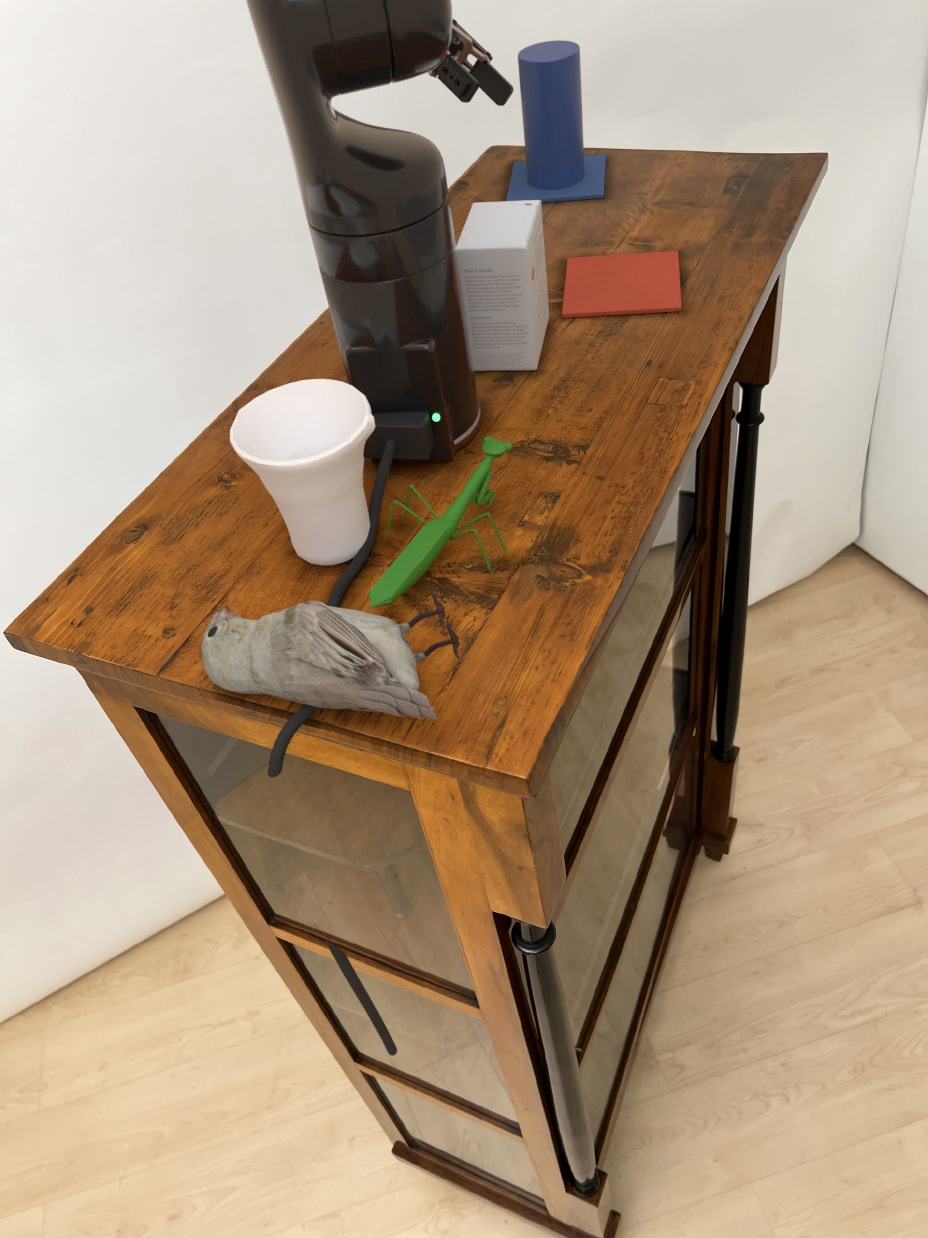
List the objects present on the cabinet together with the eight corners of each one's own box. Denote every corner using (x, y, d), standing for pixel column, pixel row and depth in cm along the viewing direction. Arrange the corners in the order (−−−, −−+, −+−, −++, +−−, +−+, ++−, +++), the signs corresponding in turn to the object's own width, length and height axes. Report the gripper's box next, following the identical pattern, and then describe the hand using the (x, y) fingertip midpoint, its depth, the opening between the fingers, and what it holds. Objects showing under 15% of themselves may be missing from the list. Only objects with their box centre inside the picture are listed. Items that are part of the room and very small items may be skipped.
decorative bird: (202, 578, 57) (154, 682, 53) (451, 573, 52) (421, 688, 47) (242, 631, 61) (201, 731, 57) (477, 631, 56) (451, 742, 51)
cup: (382, 586, 61) (348, 463, 54) (252, 576, 63) (202, 456, 56) (419, 497, 67) (392, 375, 59) (298, 491, 69) (258, 372, 62)
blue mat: (603, 197, 96) (603, 193, 96) (506, 205, 98) (505, 201, 97) (605, 157, 103) (605, 153, 102) (514, 165, 104) (514, 161, 104)
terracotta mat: (681, 311, 79) (681, 306, 79) (561, 317, 81) (561, 313, 81) (678, 254, 86) (678, 250, 86) (567, 261, 88) (567, 257, 87)
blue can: (594, 178, 98) (590, 49, 90) (542, 194, 97) (533, 66, 89) (569, 160, 102) (562, 35, 94) (518, 175, 101) (507, 50, 93)
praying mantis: (563, 511, 64) (562, 456, 61) (437, 652, 56) (427, 597, 53) (451, 474, 69) (444, 420, 65) (318, 600, 60) (303, 546, 57)
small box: (487, 321, 82) (471, 200, 75) (550, 319, 81) (542, 196, 73) (469, 372, 77) (451, 248, 70) (537, 372, 76) (526, 245, 68)
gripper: (356, -71, 85) (484, 55, 85) (427, -46, 97) (540, 65, 96) (316, 9, 89) (438, 129, 89) (389, 24, 101) (496, 130, 101)
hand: (491, 96), depth 93 cm, fingers open, 8 cm apart
